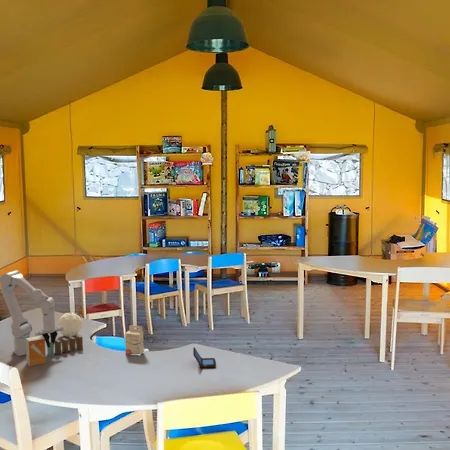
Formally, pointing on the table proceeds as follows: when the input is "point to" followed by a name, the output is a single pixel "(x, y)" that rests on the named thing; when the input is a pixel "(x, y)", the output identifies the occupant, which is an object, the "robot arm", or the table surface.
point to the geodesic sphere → (70, 324)
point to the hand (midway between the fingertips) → (50, 346)
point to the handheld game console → (204, 360)
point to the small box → (35, 350)
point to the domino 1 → (51, 349)
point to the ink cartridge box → (134, 340)
